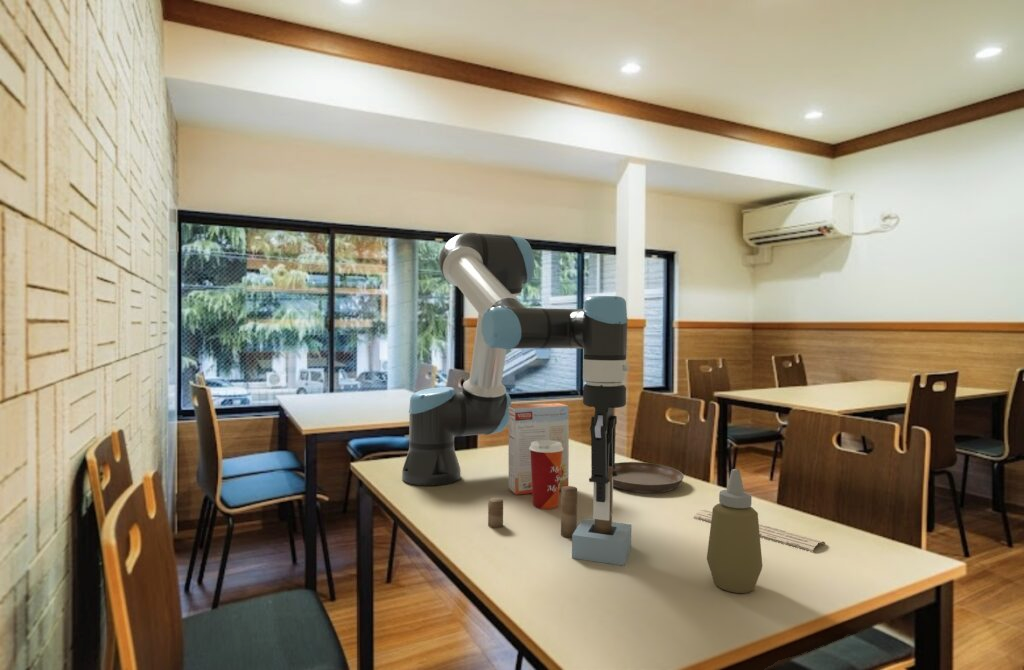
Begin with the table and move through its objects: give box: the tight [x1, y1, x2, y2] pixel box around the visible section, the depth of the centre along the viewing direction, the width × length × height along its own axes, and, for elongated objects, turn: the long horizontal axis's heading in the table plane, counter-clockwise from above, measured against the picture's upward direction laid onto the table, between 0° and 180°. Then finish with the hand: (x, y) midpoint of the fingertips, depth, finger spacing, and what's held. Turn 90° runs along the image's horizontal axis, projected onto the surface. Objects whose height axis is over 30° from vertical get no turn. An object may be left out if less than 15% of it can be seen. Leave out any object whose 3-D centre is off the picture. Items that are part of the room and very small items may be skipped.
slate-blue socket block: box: [571, 518, 632, 567], centre depth 100 cm, size 9×9×4 cm
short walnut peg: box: [487, 497, 504, 529], centre depth 113 cm, size 3×3×5 cm
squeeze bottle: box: [706, 468, 763, 594], centre depth 88 cm, size 8×8×18 cm
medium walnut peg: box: [560, 485, 578, 539], centre depth 108 cm, size 3×3×9 cm
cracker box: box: [507, 402, 570, 496], centre depth 138 cm, size 14×6×21 cm, turn 108°
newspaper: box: [693, 509, 826, 553], centre depth 112 cm, size 24×7×2 cm, turn 42°
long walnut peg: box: [594, 466, 613, 535], centre depth 100 cm, size 3×3×14 cm
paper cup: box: [529, 440, 563, 510], centre depth 126 cm, size 8×8×14 cm
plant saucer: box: [612, 461, 685, 494], centre depth 145 cm, size 21×21×3 cm
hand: (603, 515), depth 100 cm, fingers closed on long walnut peg, 3 cm apart
